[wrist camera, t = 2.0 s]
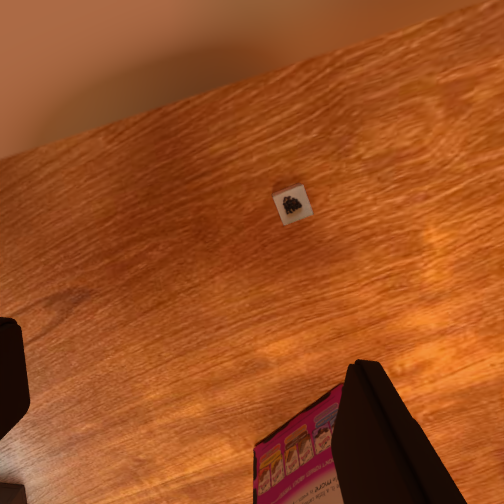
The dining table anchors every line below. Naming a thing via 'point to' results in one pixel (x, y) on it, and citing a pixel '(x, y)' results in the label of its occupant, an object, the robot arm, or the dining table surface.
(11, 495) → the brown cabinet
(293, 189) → the cube with dark pebbles
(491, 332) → the dining table surface
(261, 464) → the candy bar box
